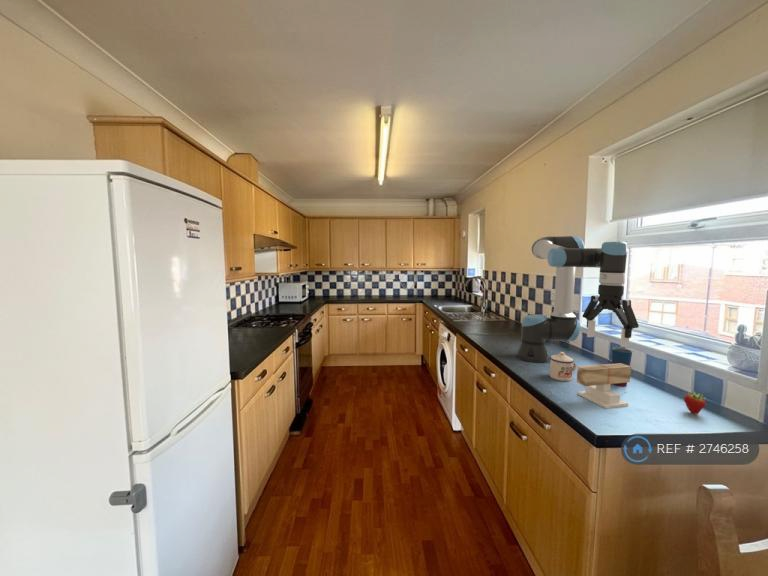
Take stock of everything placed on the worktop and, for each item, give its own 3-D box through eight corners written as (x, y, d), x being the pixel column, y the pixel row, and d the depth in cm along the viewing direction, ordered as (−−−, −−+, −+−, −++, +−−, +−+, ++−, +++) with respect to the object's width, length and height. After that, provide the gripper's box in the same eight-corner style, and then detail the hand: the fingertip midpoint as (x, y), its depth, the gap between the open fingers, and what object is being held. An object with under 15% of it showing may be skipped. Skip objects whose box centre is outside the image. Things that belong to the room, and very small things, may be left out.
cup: (632, 388, 128) (636, 352, 127) (614, 386, 130) (617, 351, 128) (623, 381, 135) (626, 348, 134) (606, 380, 136) (608, 347, 135)
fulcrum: (577, 394, 122) (579, 376, 121) (598, 392, 124) (600, 375, 123) (605, 408, 110) (607, 389, 110) (628, 405, 112) (629, 387, 112)
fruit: (699, 418, 104) (702, 395, 103) (679, 411, 109) (681, 389, 108) (707, 415, 106) (709, 393, 105) (687, 408, 111) (689, 387, 110)
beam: (576, 381, 116) (577, 366, 116) (619, 378, 120) (620, 362, 120) (585, 386, 112) (586, 369, 112) (629, 382, 116) (631, 366, 116)
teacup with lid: (559, 382, 134) (560, 356, 132) (544, 374, 142) (546, 349, 141) (583, 380, 136) (584, 354, 135) (567, 373, 145) (568, 348, 144)
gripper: (574, 281, 124) (571, 333, 126) (637, 287, 100) (631, 351, 102) (590, 281, 126) (586, 333, 128) (655, 287, 102) (649, 350, 104)
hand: (606, 341), depth 115 cm, fingers open, 13 cm apart
